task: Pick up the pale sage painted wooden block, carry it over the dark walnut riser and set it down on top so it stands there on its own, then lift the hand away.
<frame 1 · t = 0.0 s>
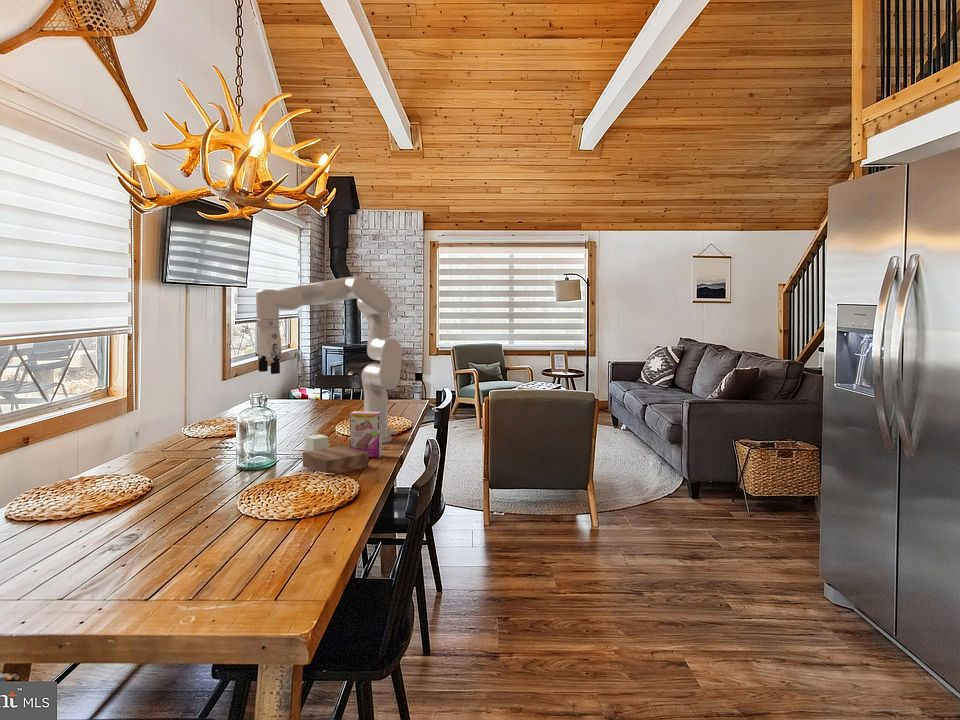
hand: (269, 372, 225), 31 cm above the table, tool pointing down, fingers open, 9 cm apart
candy bar box: (366, 457, 232), on the table
walnut riser: (335, 467, 216), on the table
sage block: (317, 455, 233), on the table
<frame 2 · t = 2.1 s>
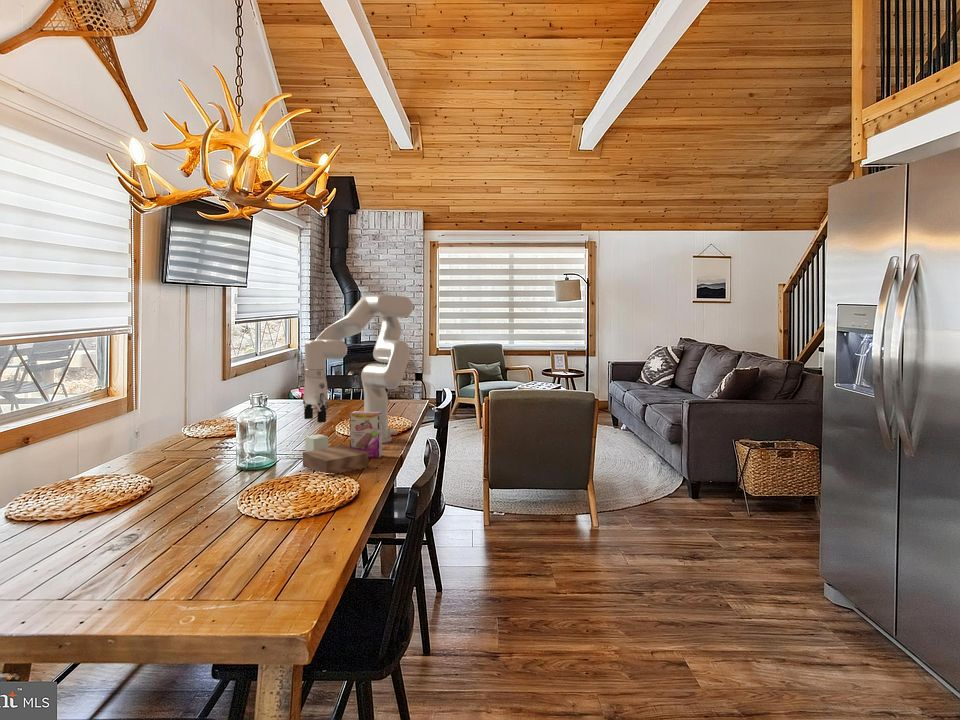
hand: (315, 420, 232), 13 cm above the table, tool pointing down, fingers open, 9 cm apart
nothing on the table moved.
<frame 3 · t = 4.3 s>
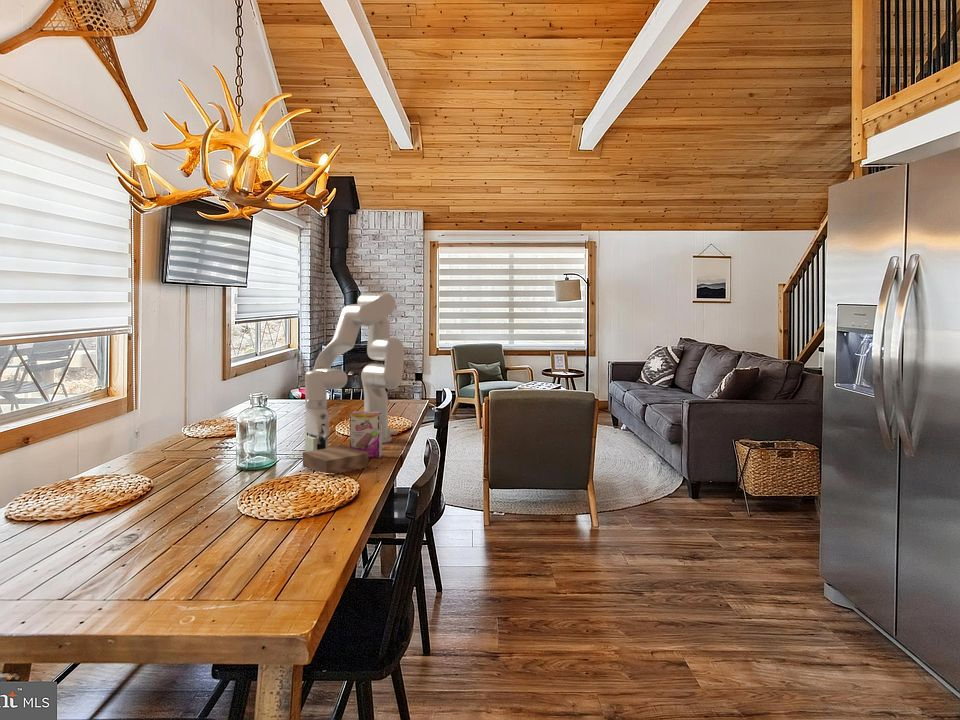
hand: (316, 452, 233), 1 cm above the table, tool pointing down, fingers closed on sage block, 6 cm apart
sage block: (317, 455, 233), on the table, touching gripper
everything else where it was.
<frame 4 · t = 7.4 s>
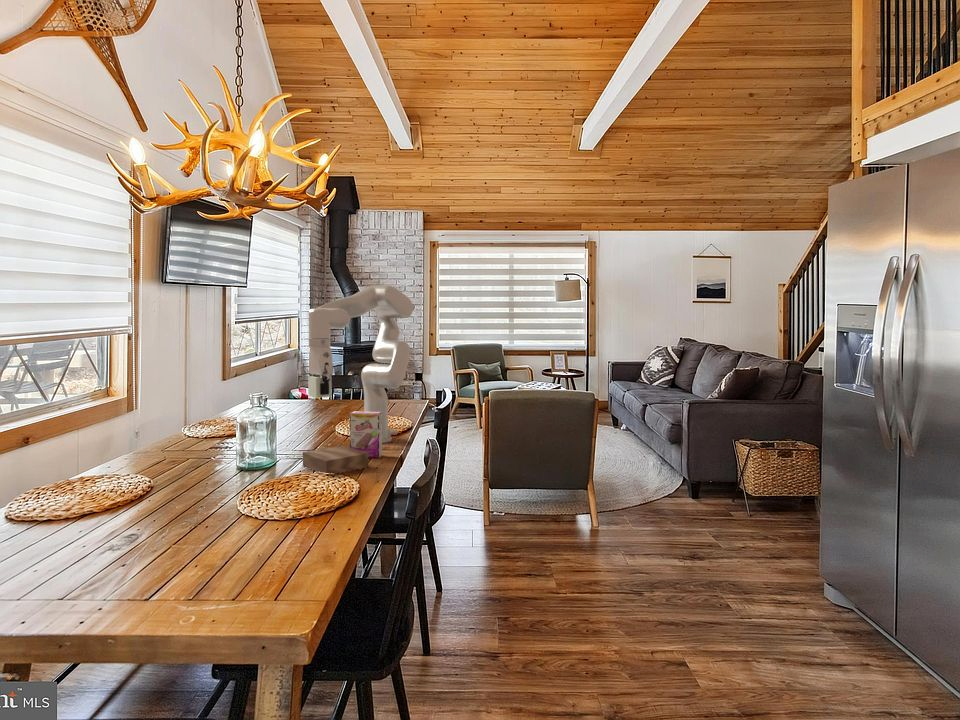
hand: (320, 392, 226), 24 cm above the table, tool pointing down, fingers closed on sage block, 6 cm apart
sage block: (320, 396, 227), point 23 cm above the table, touching gripper
everything else where it was.
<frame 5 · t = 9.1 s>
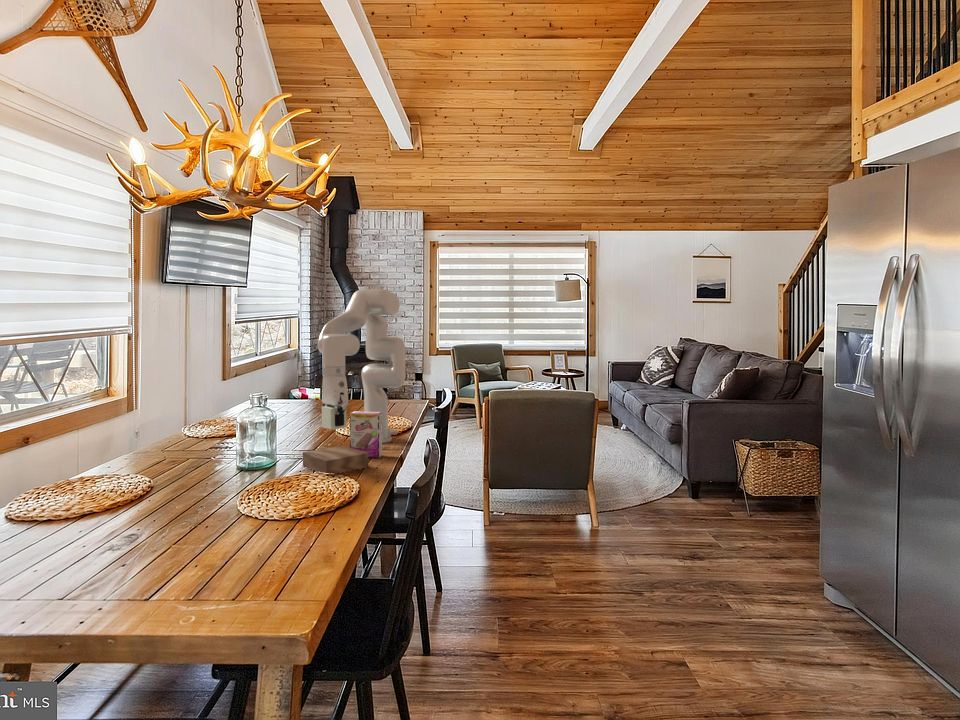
hand: (334, 424, 214), 15 cm above the table, tool pointing down, fingers closed on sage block, 6 cm apart
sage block: (334, 427, 214), point 14 cm above the table, touching gripper
everything else where it was.
when the fingers open (7 cm above the table, at t = 10.7 s): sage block drops 1 cm, resting on walnut riser.
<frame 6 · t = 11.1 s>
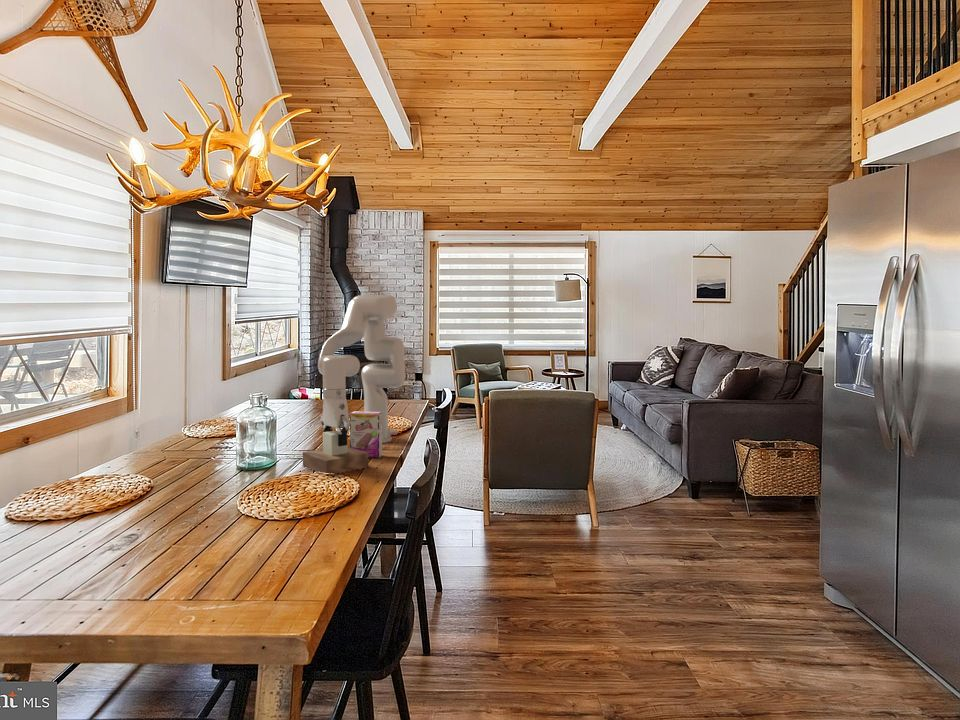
hand: (335, 443, 215), 8 cm above the table, tool pointing down, fingers open, 9 cm apart
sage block: (335, 452, 216), point 5 cm above the table, touching walnut riser
everything else where it was.
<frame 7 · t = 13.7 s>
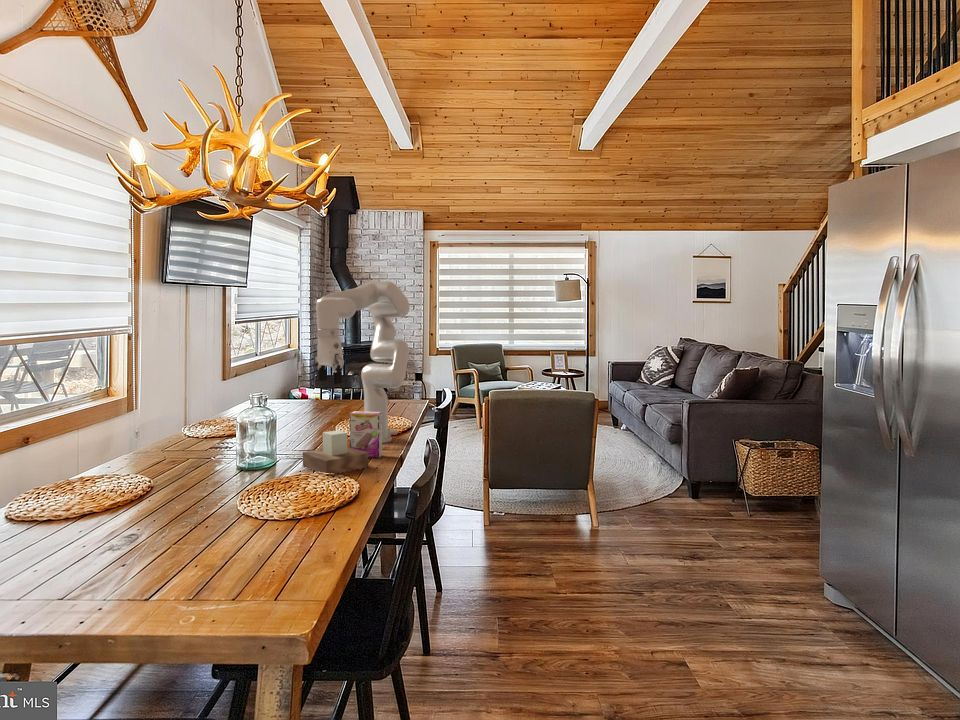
hand: (330, 382, 223), 28 cm above the table, tool pointing down, fingers open, 9 cm apart
nothing on the table moved.
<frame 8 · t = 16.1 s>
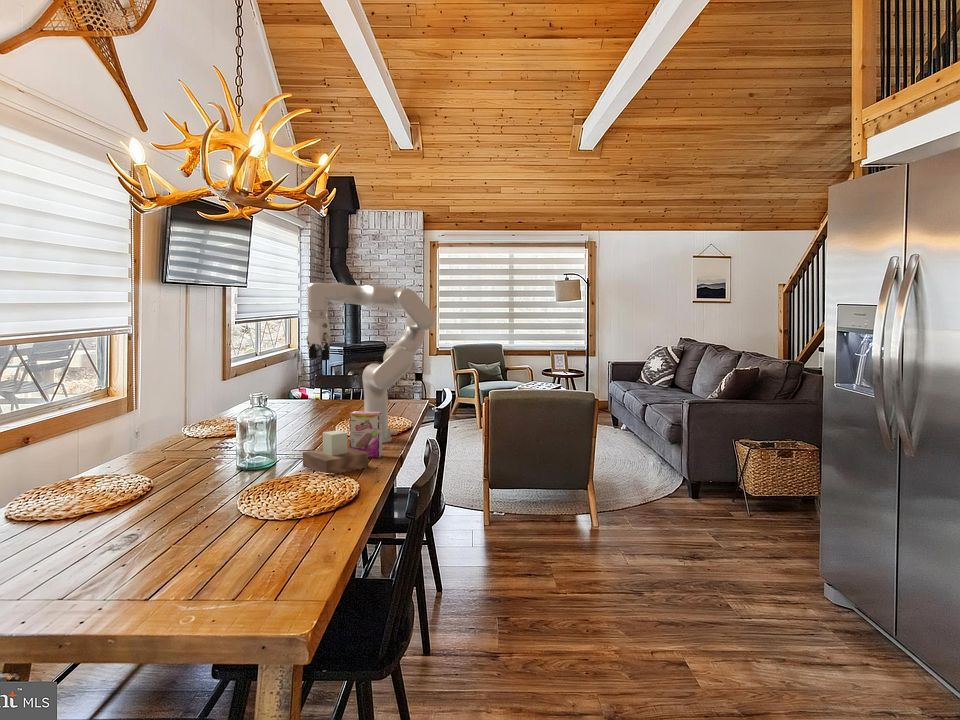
hand: (318, 359, 244), 34 cm above the table, tool pointing down, fingers open, 9 cm apart
nothing on the table moved.
at the end: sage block inside the target area on the walnut riser (0.0 cm from its centre), point 5.0 cm above the walnut riser's base; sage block tilted 0°; the gripper is holding nothing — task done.
